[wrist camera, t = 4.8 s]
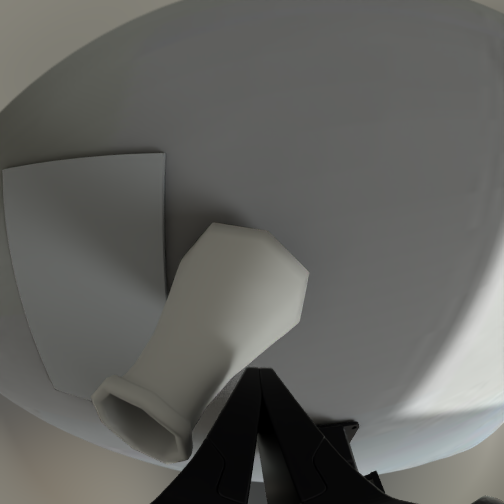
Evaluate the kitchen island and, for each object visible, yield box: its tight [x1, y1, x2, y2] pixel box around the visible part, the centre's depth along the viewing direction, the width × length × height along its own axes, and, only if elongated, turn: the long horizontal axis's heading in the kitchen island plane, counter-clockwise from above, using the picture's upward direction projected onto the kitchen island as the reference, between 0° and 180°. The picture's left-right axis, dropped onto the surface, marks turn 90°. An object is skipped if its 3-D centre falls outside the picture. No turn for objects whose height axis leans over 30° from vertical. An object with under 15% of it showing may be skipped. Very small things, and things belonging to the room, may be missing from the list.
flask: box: [91, 222, 309, 464], centre depth 10 cm, size 7×7×10 cm
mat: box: [2, 153, 167, 401], centre depth 16 cm, size 20×13×1 cm, turn 176°
